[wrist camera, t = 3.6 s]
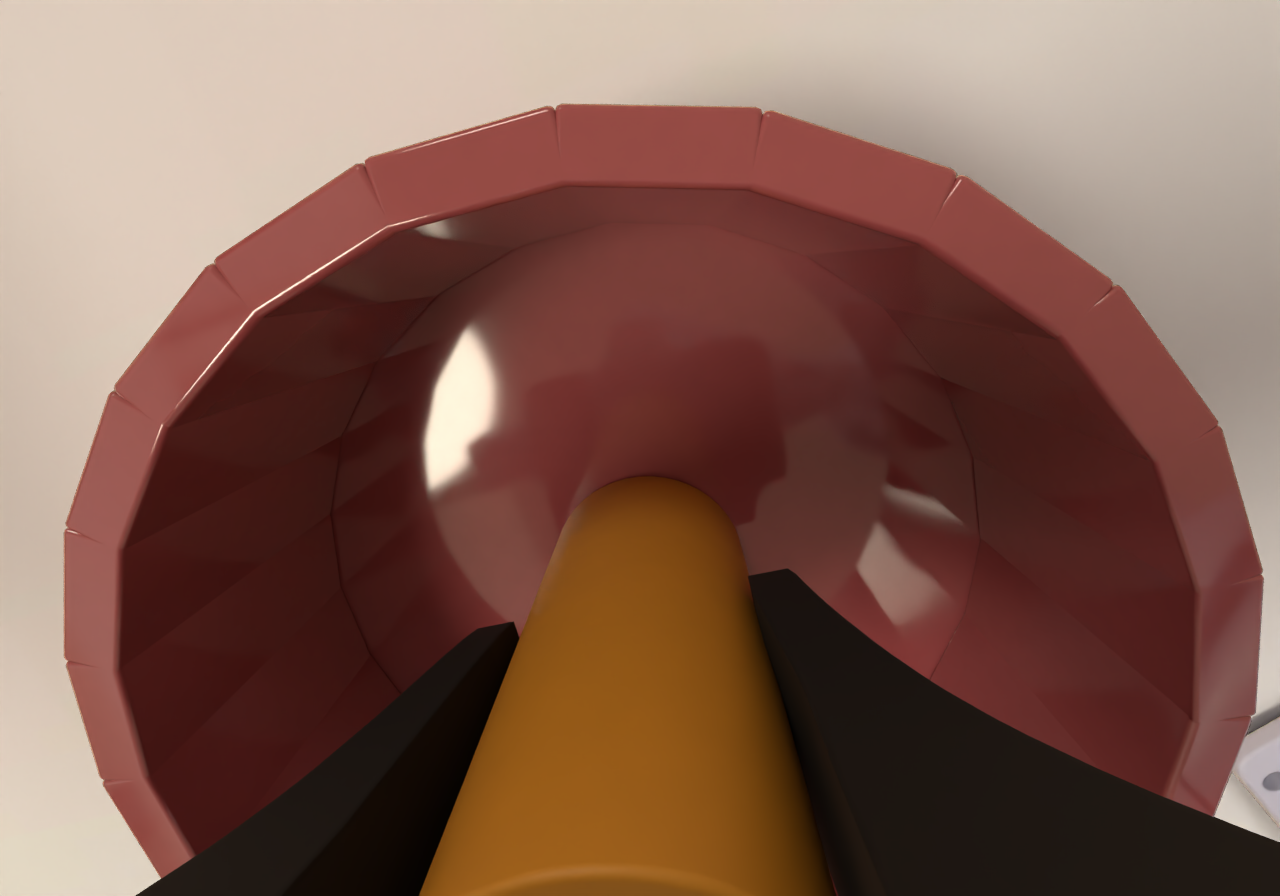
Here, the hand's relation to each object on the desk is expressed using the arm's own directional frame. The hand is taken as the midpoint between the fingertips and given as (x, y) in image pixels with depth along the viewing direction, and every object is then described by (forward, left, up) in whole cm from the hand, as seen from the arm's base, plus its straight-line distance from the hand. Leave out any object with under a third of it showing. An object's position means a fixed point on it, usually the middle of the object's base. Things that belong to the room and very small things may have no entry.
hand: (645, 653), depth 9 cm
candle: (0, 0, -3) cm, 3 cm away
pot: (0, 0, -3) cm, 3 cm away
